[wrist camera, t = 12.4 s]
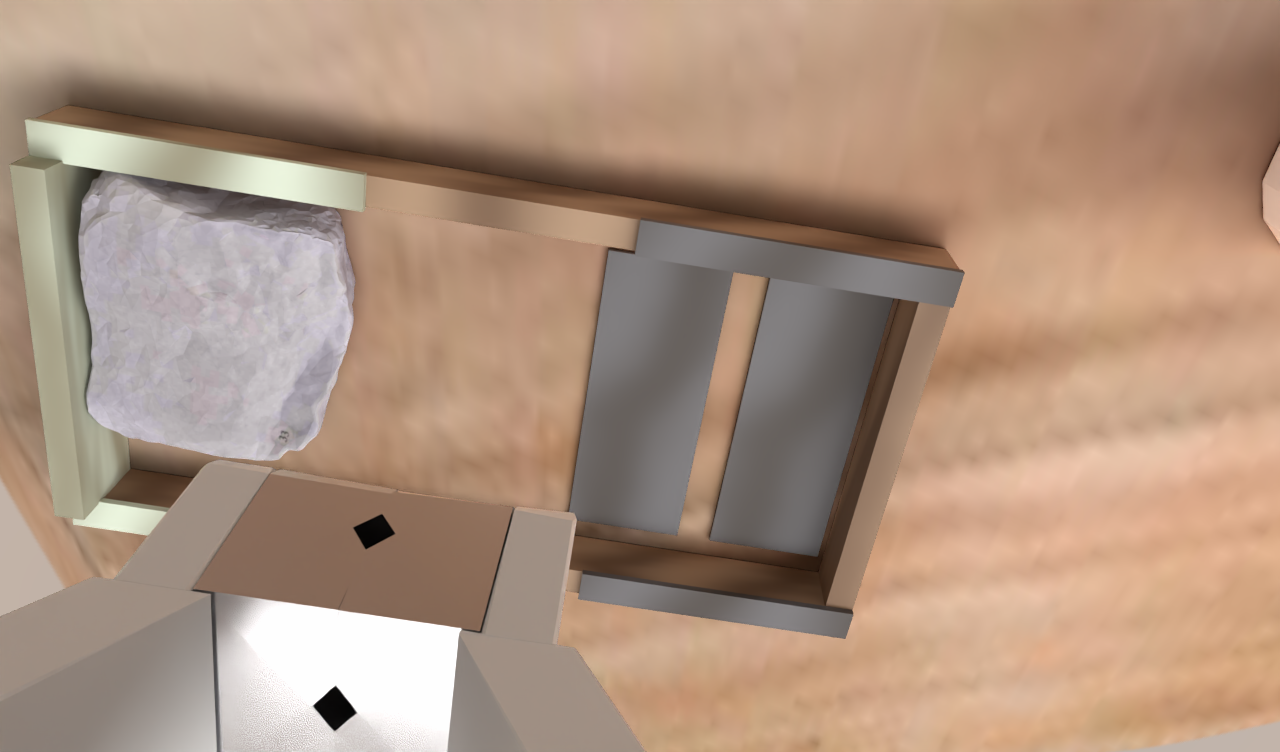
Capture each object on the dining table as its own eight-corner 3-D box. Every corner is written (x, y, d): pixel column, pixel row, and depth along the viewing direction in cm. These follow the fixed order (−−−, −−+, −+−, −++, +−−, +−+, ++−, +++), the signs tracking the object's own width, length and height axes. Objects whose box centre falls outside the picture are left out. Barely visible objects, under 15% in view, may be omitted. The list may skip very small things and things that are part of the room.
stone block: (369, 176, 41) (100, 137, 39) (359, 222, 37) (59, 182, 35) (349, 418, 47) (114, 397, 45) (339, 481, 43) (79, 462, 41)
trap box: (946, 246, 40) (972, 285, 36) (836, 597, 48) (849, 657, 44) (67, 102, 38) (4, 127, 35) (106, 488, 46) (58, 541, 43)
